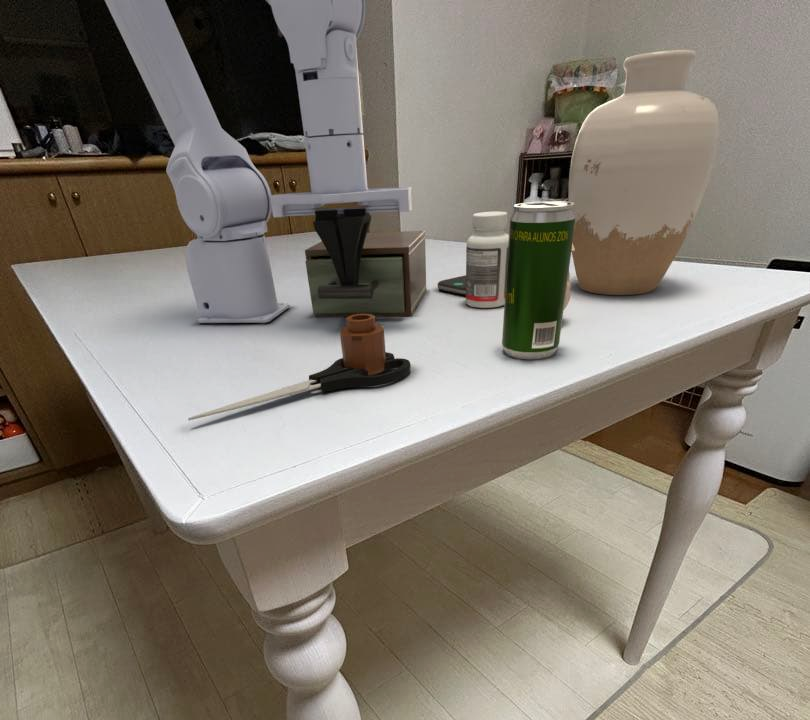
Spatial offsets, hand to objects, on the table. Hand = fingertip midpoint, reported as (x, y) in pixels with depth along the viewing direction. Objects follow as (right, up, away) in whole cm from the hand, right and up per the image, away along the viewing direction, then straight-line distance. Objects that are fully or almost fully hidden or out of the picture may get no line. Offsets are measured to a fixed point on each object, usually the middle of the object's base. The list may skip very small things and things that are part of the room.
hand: (350, 289), depth 58 cm
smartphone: (+18, +9, +16) cm, 26 cm away
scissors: (-2, -16, -14) cm, 21 cm away
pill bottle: (+17, +2, +8) cm, 18 cm away
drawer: (+1, +1, +7) cm, 7 cm away
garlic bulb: (+21, -4, 0) cm, 21 cm away
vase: (+35, +6, +11) cm, 37 cm away
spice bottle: (+3, -12, -10) cm, 16 cm away
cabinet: (+2, +4, +11) cm, 12 cm away
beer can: (+18, -10, -8) cm, 22 cm away
